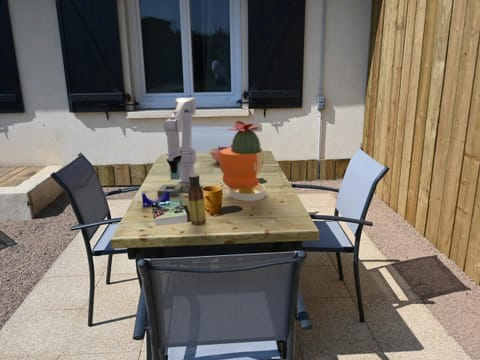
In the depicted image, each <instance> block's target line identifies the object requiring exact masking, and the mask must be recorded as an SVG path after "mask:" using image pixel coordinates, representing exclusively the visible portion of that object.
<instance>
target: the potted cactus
mask: <svg viewBox="0 0 480 360" xmlns="http://www.w3.org/2000/svg"><path fill="white" fill-rule="evenodd" d="M232 127H233V128H228V131H236V133H234V136H233V138H232V139H231V140H232V142H231V145H232V147H230V146H229V147H230V148H226V149H223V150H221V151H220V156H219V168H220V171H221V172H222V174H223V175H222V182H223V183H224V185H226V187H228V195H229V196H230V197H231V198H233V199H235V200H238V201H242V202H243V201H244V202H255V201H260V200H263V199H264V198H265V197H266V186H265V185H263V184H261V183H260V180H259V178H258V177H257V176H258V175H259V174H260V173H261V170H262V169H263V165H264V161H265V159H264V158H265V157H264V156H265V155H264V149H262V147H261V146H262V144H261V141H260V138H259V136H258V135H257V132H256V131H258V130H262V128H261V127H260V126H259V125H258V124H254V123H253V122H252V123H245V122H244V121H241V120H237V121H236V122H234V125H233V126H232Z"/></svg>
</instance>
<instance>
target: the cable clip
mask: <svg viewBox="0 0 480 360" xmlns="http://www.w3.org/2000/svg"><path fill="white" fill-rule="evenodd" d="M170 197H171V196H169V190H165V194H164V195H163V196H160V197H159V198H156V199H155V200H154V199H153V200H152V199H150V198H149V197H148V196H147V194H146V192H141V198H142V207H143V208H144V207H145V208H146V207H152V206H151V204H152V203H159V202H166V201H170V202H171V199H170Z"/></svg>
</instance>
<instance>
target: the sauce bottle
mask: <svg viewBox="0 0 480 360" xmlns="http://www.w3.org/2000/svg"><path fill="white" fill-rule="evenodd" d="M189 180H190V182H189V186H190V188H189V190H188V193H187V196H188V197H187V198H188V200H187V202H188V208H189V220H190V223H191V224H192V225H195V226H200V225H204V224H205V223H206V222H207V220H206V219H207V215H206V206H205V205H206V204H205V196H204V190H203V188H201V187H200V186H201V185H200V174H197V173H195V174H192V175H189Z"/></svg>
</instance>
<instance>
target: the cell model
mask: <svg viewBox="0 0 480 360" xmlns="http://www.w3.org/2000/svg"><path fill="white" fill-rule="evenodd" d="M230 147H232V144H230V145H229V146H218V147H215V148H211V149H210V150H209V151H208V152H209V154H210V157H211V158H212V160H214V161H215V162H216V163H219V156H220V151H221V150H223V149H226V148H230ZM219 164H220V163H219Z"/></svg>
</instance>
